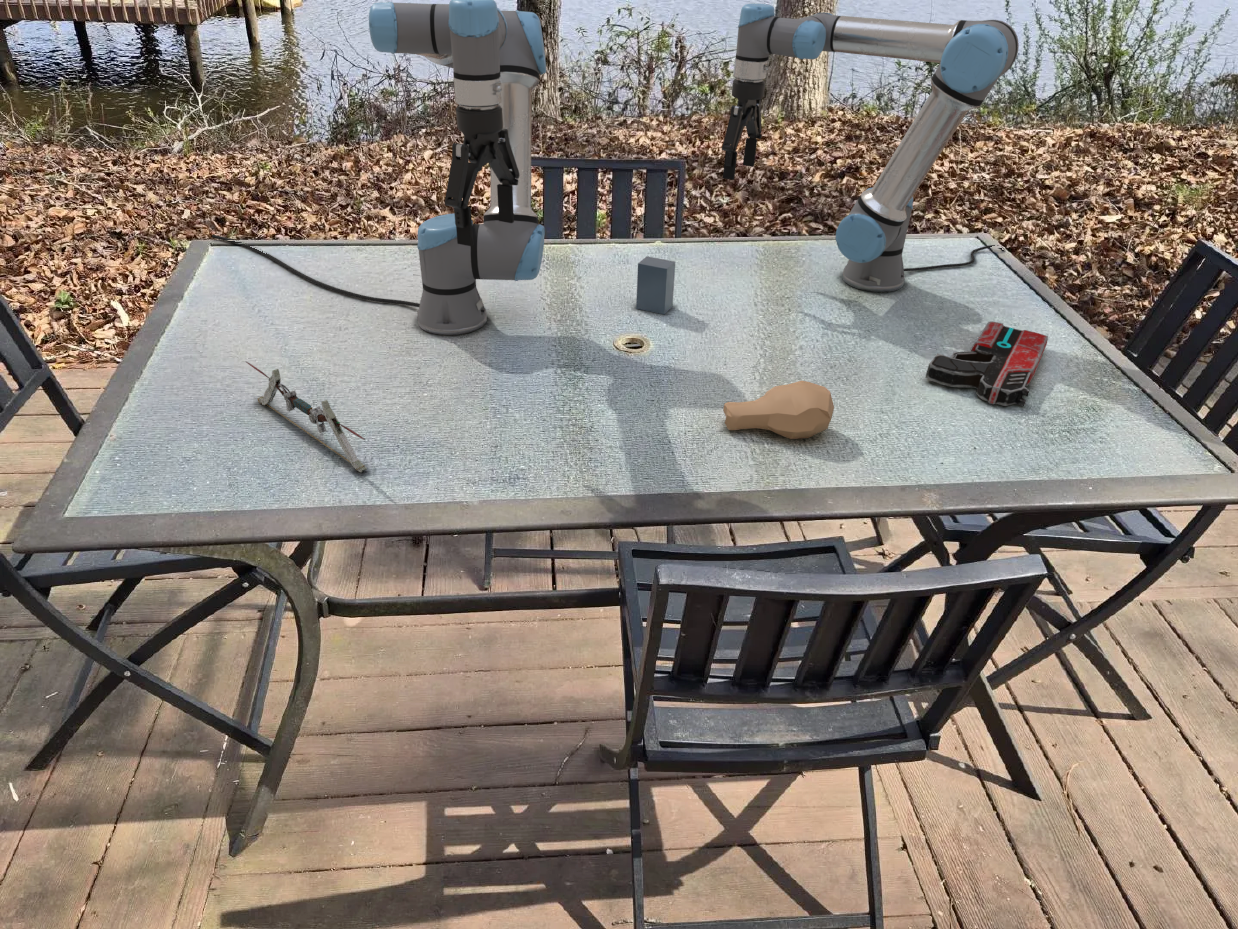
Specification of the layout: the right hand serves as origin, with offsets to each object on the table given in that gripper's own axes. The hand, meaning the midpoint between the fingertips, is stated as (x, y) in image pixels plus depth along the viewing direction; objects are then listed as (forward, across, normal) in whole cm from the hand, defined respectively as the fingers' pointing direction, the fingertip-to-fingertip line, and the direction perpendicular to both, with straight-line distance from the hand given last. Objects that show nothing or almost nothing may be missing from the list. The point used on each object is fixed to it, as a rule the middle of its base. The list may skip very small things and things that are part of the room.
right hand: (738, 172), depth 215 cm
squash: (+24, -71, -38) cm, 84 cm away
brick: (+25, -33, +6) cm, 41 cm away
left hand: (-6, -84, +16) cm, 86 cm away
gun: (+23, -26, -69) cm, 77 cm away
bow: (+25, -115, +34) cm, 123 cm away
